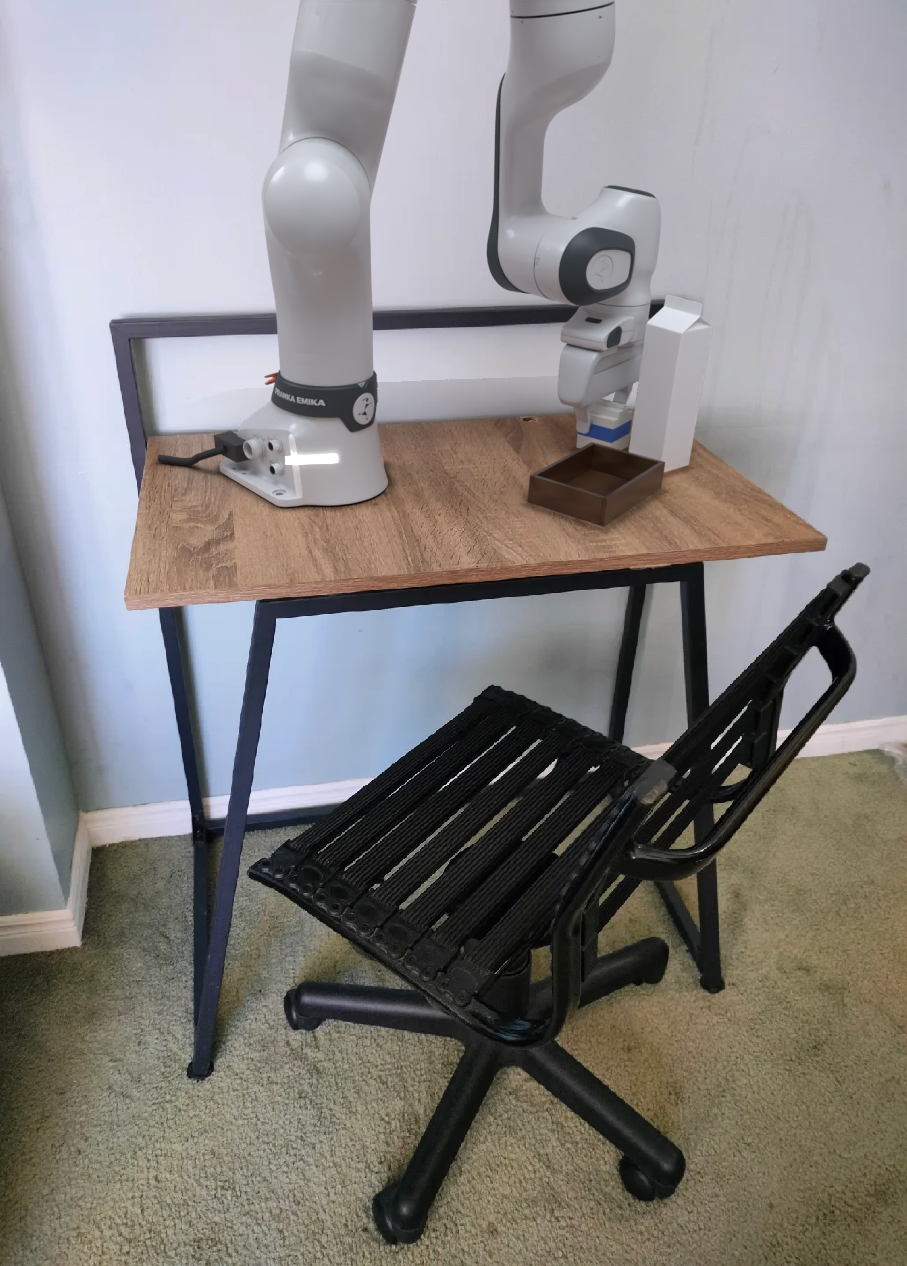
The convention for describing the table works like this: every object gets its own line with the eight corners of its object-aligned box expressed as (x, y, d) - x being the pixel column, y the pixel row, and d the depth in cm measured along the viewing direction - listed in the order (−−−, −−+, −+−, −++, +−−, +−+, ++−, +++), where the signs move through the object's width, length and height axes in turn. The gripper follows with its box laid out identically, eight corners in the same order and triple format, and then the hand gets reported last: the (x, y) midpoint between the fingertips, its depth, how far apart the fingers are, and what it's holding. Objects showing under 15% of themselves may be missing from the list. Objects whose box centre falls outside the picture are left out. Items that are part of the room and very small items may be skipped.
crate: (527, 505, 113) (529, 475, 111) (588, 470, 124) (591, 441, 122) (603, 530, 108) (607, 499, 106) (660, 491, 119) (665, 461, 116)
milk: (659, 477, 123) (686, 306, 111) (626, 462, 127) (648, 296, 115) (689, 467, 126) (718, 300, 114) (656, 453, 130) (681, 291, 118)
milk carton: (575, 450, 130) (580, 401, 126) (594, 440, 134) (600, 392, 130) (609, 459, 127) (615, 409, 123) (627, 449, 131) (634, 400, 127)
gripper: (628, 304, 130) (615, 400, 137) (553, 330, 116) (543, 436, 123) (669, 312, 127) (653, 410, 134) (597, 340, 113) (584, 447, 120)
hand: (600, 422), depth 129 cm, fingers open, 8 cm apart
